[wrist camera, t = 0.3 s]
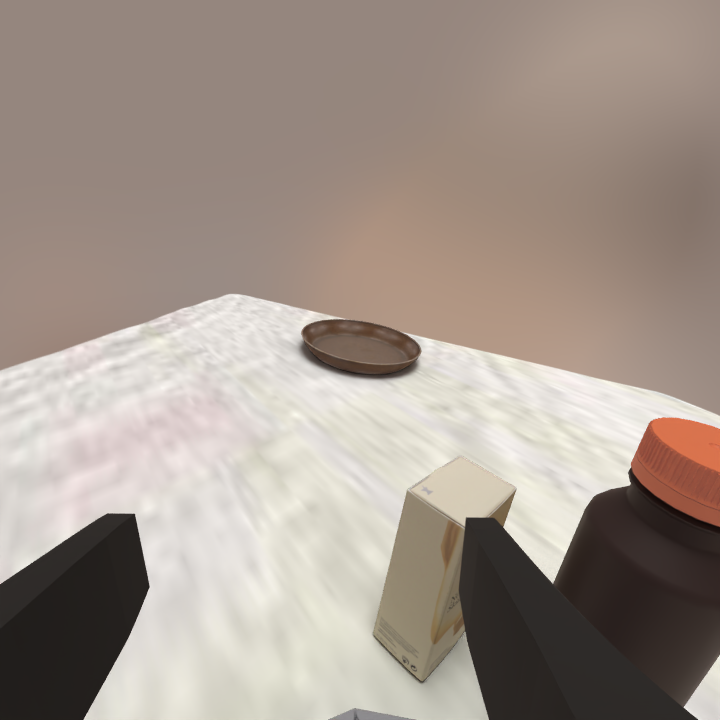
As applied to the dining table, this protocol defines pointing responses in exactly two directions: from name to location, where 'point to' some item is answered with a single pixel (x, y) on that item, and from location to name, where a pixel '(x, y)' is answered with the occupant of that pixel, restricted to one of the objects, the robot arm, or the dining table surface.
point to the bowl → (366, 716)
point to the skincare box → (434, 562)
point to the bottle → (656, 558)
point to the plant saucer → (360, 346)
